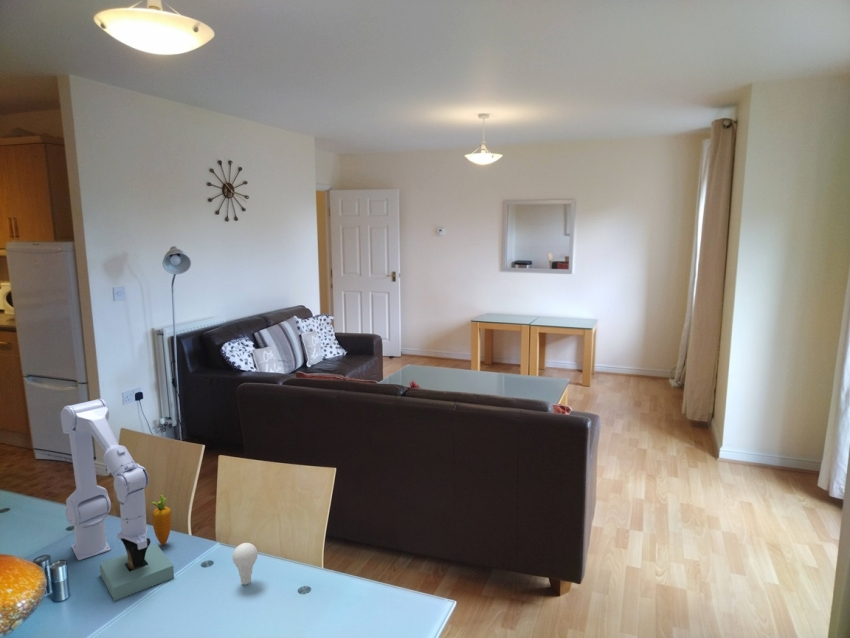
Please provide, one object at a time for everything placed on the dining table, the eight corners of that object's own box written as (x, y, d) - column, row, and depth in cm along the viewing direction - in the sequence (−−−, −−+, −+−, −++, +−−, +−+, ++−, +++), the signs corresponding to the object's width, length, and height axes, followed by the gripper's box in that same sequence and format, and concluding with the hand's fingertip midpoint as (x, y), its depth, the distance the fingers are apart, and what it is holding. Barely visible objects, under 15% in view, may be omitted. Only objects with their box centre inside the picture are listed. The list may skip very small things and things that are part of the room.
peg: (127, 569, 142) (125, 544, 141) (141, 564, 144) (140, 540, 143) (130, 575, 139) (128, 550, 138) (144, 570, 142) (143, 546, 141)
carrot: (165, 551, 154) (162, 501, 152) (150, 548, 155) (147, 499, 153) (176, 541, 159) (174, 493, 157) (161, 539, 160) (159, 492, 158)
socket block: (100, 575, 142) (99, 562, 142) (156, 555, 152) (156, 543, 151) (114, 601, 132) (113, 587, 132) (173, 577, 142) (173, 565, 141)
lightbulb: (263, 580, 141) (262, 541, 140) (246, 594, 136) (245, 553, 134) (245, 574, 144) (244, 535, 142) (228, 587, 138) (226, 547, 137)
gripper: (108, 509, 142) (112, 556, 144) (123, 530, 132) (127, 581, 134) (137, 500, 147) (140, 546, 149) (154, 521, 137) (157, 570, 138)
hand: (136, 562), depth 142 cm, fingers closed on peg, 3 cm apart
